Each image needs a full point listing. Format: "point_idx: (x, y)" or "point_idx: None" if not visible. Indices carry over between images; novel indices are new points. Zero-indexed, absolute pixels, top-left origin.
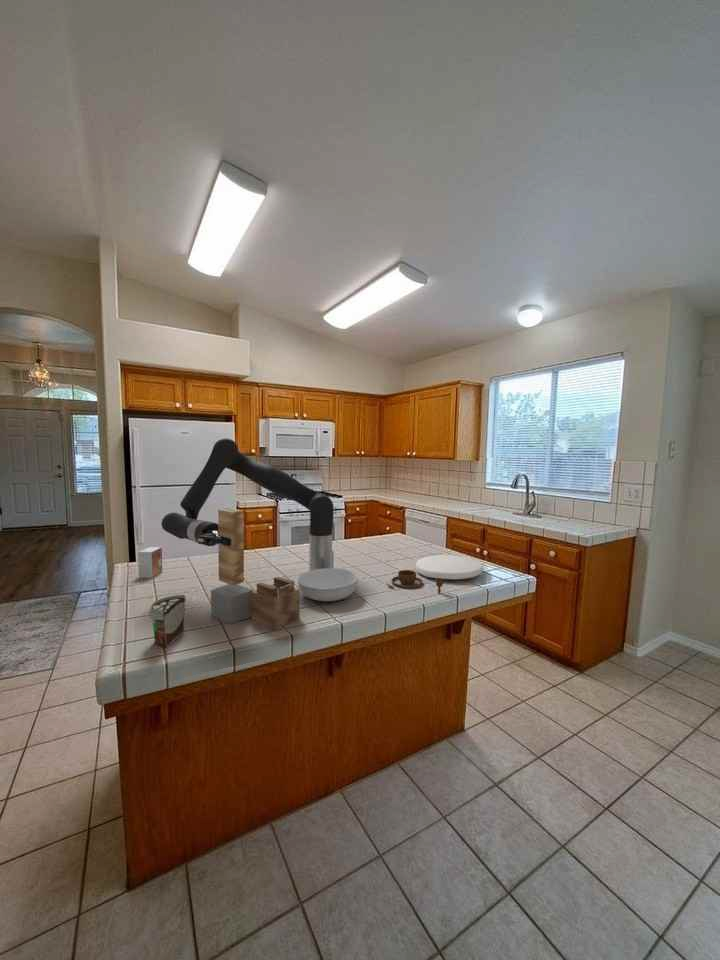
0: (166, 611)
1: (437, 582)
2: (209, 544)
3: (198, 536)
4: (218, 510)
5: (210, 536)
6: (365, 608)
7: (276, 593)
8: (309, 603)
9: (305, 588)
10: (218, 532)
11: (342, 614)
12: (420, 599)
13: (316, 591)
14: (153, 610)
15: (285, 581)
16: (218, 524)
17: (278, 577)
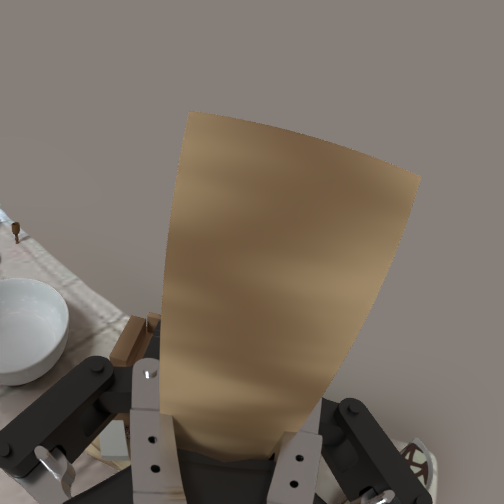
0: (406, 451)
1: (17, 228)
2: (350, 451)
3: (428, 498)
4: (413, 186)
5: (364, 438)
6: (66, 296)
7: None
8: (57, 373)
9: (57, 351)
10: (301, 423)
11: (94, 317)
12: (33, 254)
13: (68, 330)
14: (429, 457)
15: (140, 329)
16: (336, 368)
17: (116, 352)
